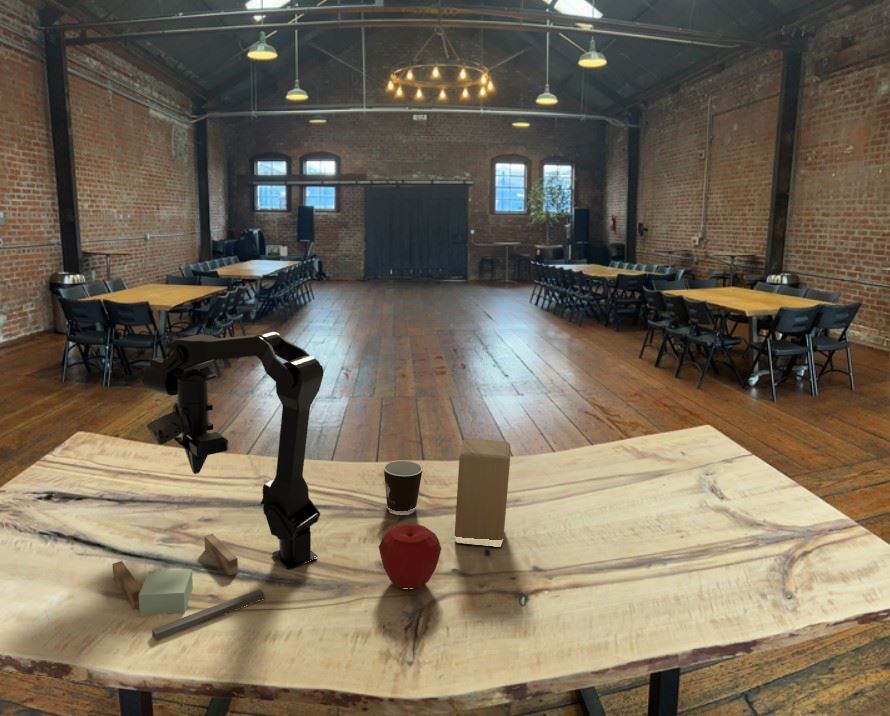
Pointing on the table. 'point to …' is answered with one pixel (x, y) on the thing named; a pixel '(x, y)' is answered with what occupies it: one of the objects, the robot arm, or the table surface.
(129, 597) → the set of wooden bars
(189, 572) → the sage block
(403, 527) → the apple
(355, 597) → the table surface
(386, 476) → the coffee mug
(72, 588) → the table surface
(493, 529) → the wooden block
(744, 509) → the table surface
